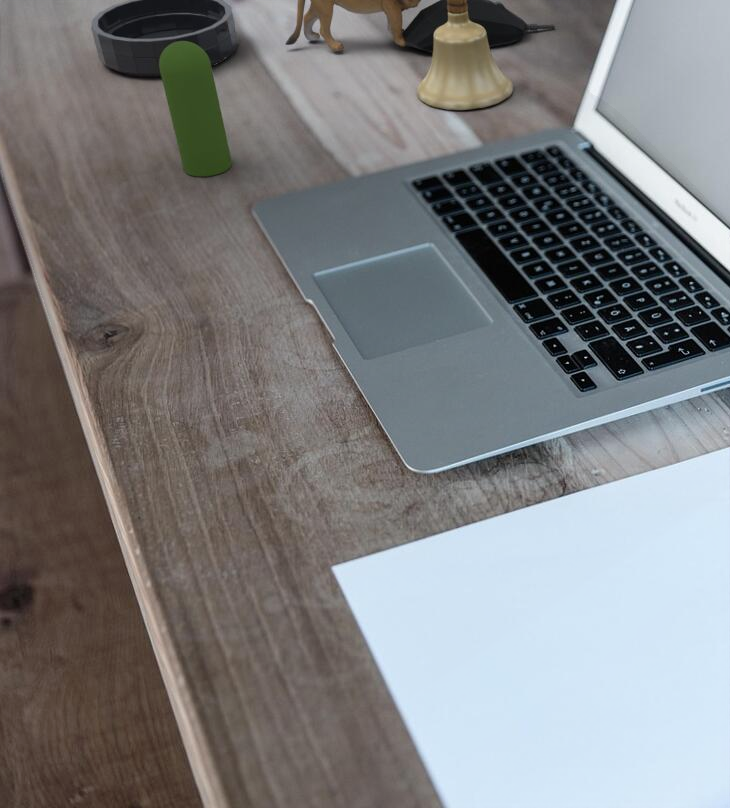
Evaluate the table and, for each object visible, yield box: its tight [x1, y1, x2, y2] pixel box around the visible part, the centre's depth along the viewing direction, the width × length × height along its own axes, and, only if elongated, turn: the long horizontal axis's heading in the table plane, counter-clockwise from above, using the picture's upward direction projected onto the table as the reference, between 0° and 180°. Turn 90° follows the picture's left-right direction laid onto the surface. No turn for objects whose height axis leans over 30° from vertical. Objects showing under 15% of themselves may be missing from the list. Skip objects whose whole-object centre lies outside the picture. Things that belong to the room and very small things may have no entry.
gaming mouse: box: [402, 0, 556, 54], centre depth 114 cm, size 6×15×4 cm, turn 111°
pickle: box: [159, 41, 233, 178], centre depth 90 cm, size 4×4×10 cm
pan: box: [90, 0, 239, 78], centre depth 111 cm, size 12×12×4 cm
